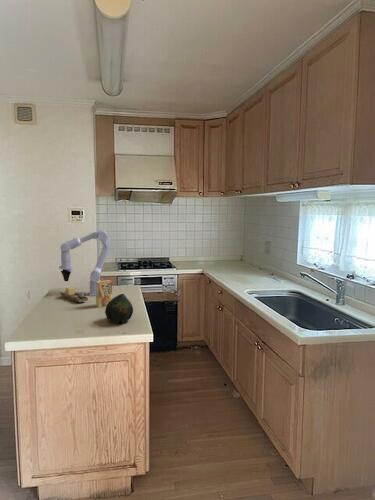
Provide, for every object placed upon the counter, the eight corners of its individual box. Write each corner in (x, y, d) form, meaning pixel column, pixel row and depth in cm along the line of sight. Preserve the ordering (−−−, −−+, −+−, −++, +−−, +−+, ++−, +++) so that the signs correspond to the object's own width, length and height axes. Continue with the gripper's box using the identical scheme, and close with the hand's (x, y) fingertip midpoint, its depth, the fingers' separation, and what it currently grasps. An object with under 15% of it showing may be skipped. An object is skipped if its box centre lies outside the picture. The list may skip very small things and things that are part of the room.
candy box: (109, 304, 229) (108, 279, 227) (112, 305, 225) (112, 281, 223) (95, 306, 223) (95, 281, 221) (99, 308, 220) (98, 282, 218)
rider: (74, 294, 240) (74, 288, 240) (68, 295, 237) (68, 289, 237) (71, 293, 243) (71, 287, 242) (65, 294, 240) (65, 288, 240)
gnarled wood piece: (88, 302, 232) (88, 293, 231) (78, 304, 227) (78, 295, 226) (69, 295, 248) (69, 287, 247) (59, 297, 243) (59, 288, 242)
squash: (101, 316, 187) (120, 293, 189) (99, 309, 201) (117, 287, 203) (122, 332, 191) (141, 310, 192) (119, 324, 205) (137, 303, 207)
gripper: (54, 260, 246) (55, 280, 248) (65, 262, 237) (66, 283, 238) (64, 259, 252) (65, 278, 253) (75, 261, 242) (76, 282, 244)
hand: (66, 281), depth 246 cm, fingers closed
